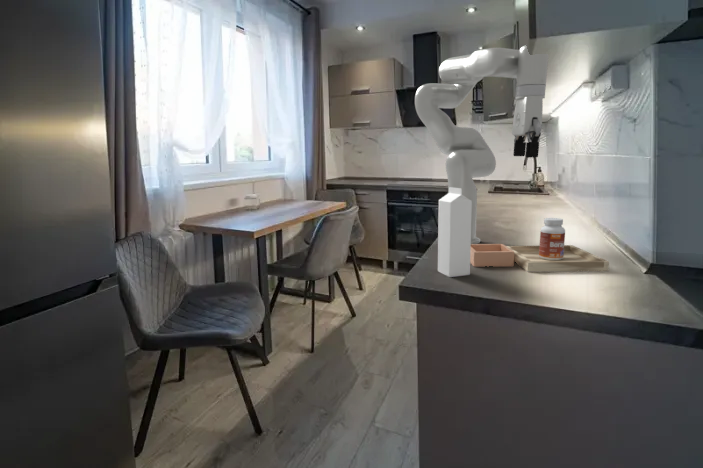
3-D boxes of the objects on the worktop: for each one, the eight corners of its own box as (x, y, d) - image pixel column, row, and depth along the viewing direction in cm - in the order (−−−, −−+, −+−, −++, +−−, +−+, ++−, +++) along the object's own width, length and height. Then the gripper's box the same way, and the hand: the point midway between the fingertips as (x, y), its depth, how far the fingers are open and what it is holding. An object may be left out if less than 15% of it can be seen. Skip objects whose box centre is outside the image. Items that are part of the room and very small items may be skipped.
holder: (465, 257, 124) (465, 244, 123) (502, 257, 123) (502, 243, 122) (473, 266, 113) (474, 252, 112) (513, 266, 112) (514, 251, 112)
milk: (449, 277, 104) (450, 189, 100) (437, 271, 110) (437, 187, 105) (470, 274, 106) (472, 187, 102) (457, 268, 111) (459, 186, 107)
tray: (504, 254, 126) (504, 246, 126) (571, 253, 125) (572, 245, 125) (527, 271, 107) (528, 262, 106) (608, 271, 105) (609, 261, 105)
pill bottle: (550, 261, 112) (552, 221, 110) (533, 256, 118) (536, 218, 116) (568, 259, 114) (571, 219, 112) (551, 254, 120) (554, 216, 118)
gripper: (506, 96, 122) (502, 155, 126) (527, 89, 106) (522, 158, 109) (532, 96, 122) (527, 155, 126) (558, 89, 105) (551, 157, 109)
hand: (525, 156), depth 118 cm, fingers open, 9 cm apart
